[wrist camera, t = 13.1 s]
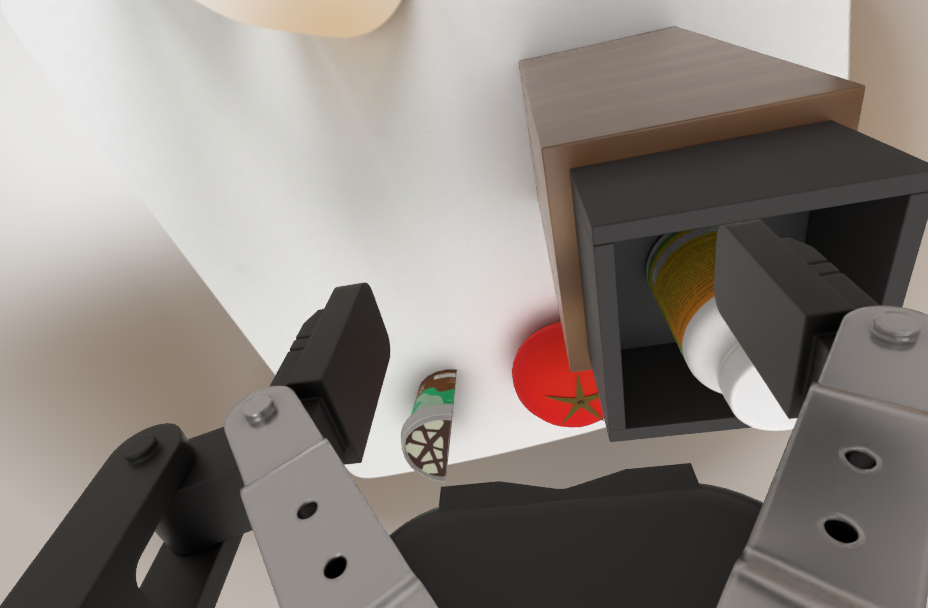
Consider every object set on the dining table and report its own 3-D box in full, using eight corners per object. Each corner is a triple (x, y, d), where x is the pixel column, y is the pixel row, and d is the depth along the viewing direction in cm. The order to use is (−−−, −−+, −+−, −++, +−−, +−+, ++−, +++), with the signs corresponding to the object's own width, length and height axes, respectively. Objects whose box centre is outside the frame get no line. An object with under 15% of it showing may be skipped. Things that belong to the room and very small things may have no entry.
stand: (518, 61, 48) (540, 148, 24) (675, 26, 46) (867, 84, 22) (538, 201, 55) (570, 373, 32) (674, 177, 53) (817, 341, 29)
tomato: (533, 397, 70) (538, 458, 62) (495, 327, 64) (495, 383, 56) (637, 365, 66) (658, 424, 58) (606, 287, 60) (625, 340, 52)
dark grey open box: (569, 168, 25) (591, 227, 19) (832, 119, 23) (943, 168, 17) (588, 355, 31) (609, 442, 25) (797, 327, 29) (871, 415, 23)
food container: (410, 356, 68) (398, 411, 59) (457, 361, 68) (452, 416, 59) (408, 423, 74) (397, 480, 66) (451, 427, 74) (445, 485, 66)
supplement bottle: (622, 281, 27) (677, 415, 19) (689, 193, 24) (787, 306, 16) (706, 319, 28) (792, 463, 20) (779, 240, 25) (914, 368, 17)
